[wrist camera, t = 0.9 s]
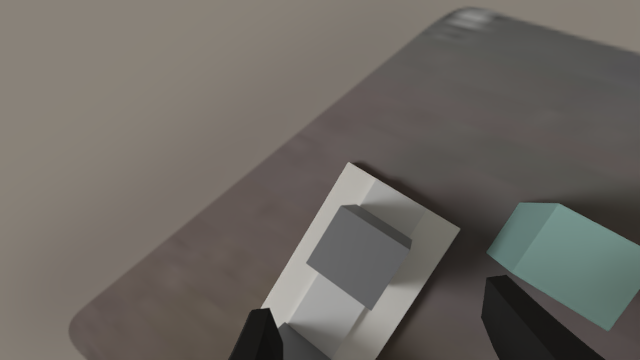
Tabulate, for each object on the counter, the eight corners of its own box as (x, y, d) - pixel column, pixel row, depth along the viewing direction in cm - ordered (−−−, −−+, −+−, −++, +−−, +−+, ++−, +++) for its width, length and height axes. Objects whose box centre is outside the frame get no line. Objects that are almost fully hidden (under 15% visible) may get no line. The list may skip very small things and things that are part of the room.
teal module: (589, 240, 21) (662, 257, 15) (552, 292, 21) (608, 331, 15) (519, 202, 22) (558, 203, 16) (485, 252, 22) (511, 272, 16)
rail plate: (459, 228, 23) (473, 237, 17) (326, 430, 25) (297, 504, 19) (350, 163, 25) (329, 151, 19) (237, 351, 27) (185, 394, 21)
